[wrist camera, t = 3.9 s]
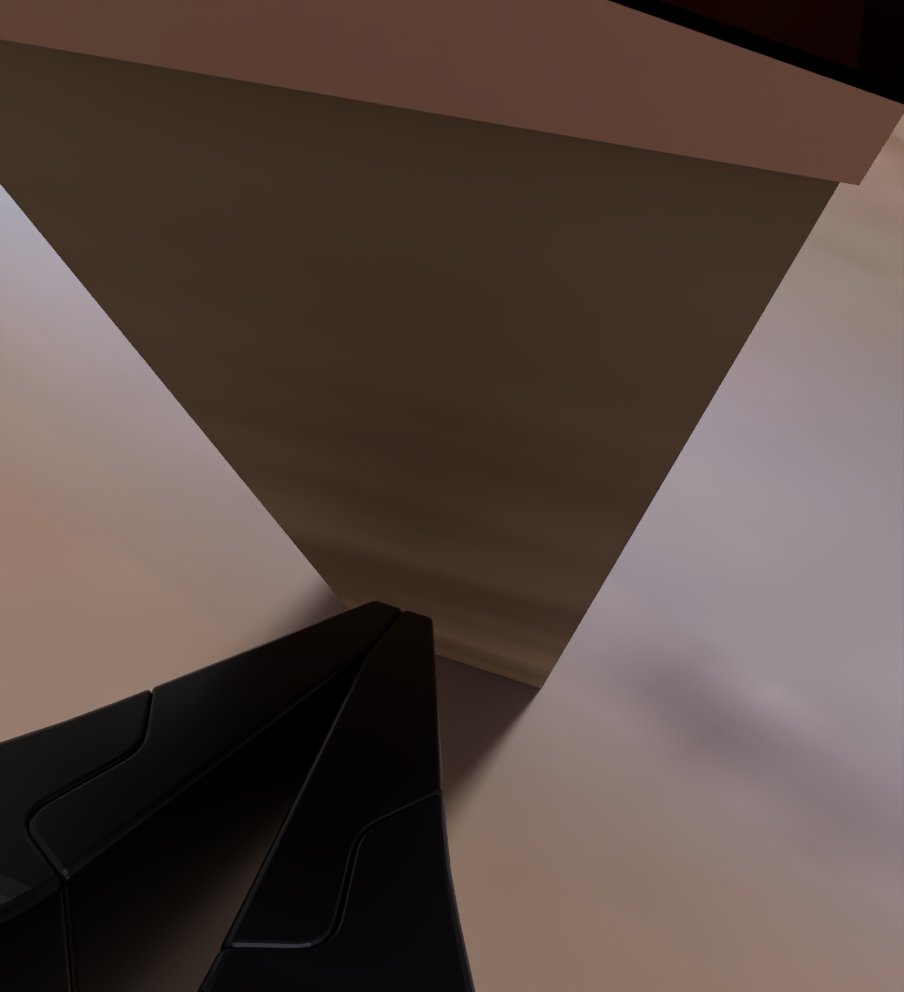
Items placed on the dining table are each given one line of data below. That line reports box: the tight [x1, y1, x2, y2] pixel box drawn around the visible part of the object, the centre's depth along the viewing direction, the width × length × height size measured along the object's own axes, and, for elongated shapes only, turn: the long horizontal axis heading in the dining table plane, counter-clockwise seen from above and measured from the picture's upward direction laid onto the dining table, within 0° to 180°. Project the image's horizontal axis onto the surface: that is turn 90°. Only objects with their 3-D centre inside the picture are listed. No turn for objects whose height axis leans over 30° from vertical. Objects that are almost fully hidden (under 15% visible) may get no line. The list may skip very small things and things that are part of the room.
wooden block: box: [0, 0, 904, 688], centre depth 10 cm, size 5×5×15 cm
